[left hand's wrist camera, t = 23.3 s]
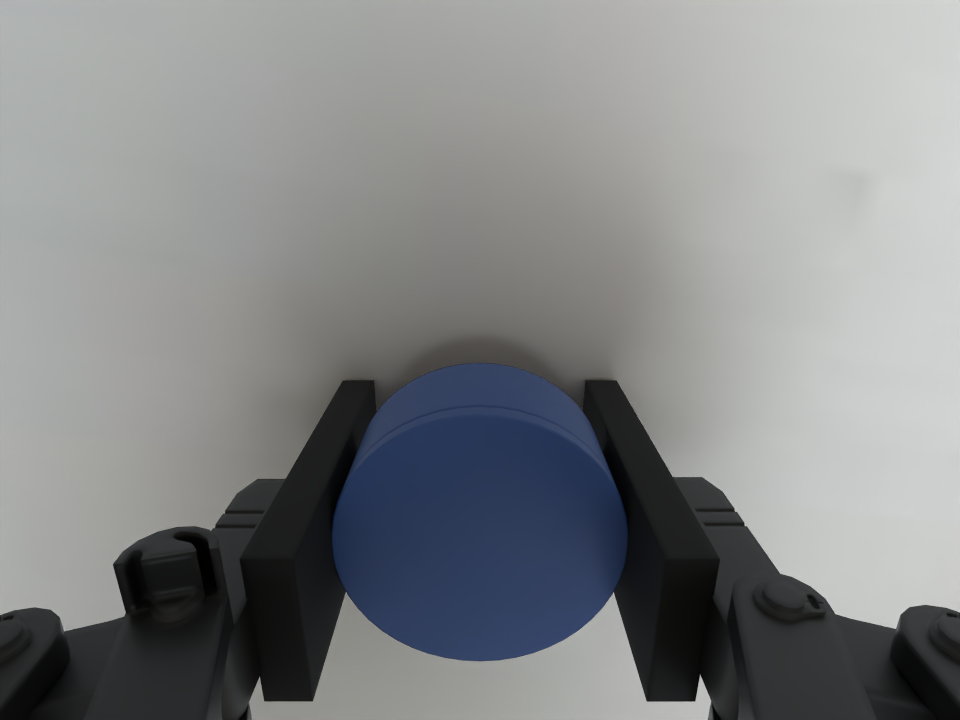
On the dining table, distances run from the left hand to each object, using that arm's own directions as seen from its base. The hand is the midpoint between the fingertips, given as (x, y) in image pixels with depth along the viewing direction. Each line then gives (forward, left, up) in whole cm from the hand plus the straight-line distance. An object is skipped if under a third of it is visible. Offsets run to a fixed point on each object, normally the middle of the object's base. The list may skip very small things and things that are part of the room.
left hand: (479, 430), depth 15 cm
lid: (0, 0, +4) cm, 4 cm away
